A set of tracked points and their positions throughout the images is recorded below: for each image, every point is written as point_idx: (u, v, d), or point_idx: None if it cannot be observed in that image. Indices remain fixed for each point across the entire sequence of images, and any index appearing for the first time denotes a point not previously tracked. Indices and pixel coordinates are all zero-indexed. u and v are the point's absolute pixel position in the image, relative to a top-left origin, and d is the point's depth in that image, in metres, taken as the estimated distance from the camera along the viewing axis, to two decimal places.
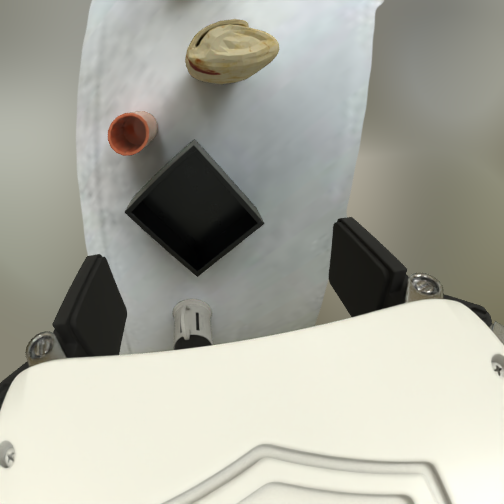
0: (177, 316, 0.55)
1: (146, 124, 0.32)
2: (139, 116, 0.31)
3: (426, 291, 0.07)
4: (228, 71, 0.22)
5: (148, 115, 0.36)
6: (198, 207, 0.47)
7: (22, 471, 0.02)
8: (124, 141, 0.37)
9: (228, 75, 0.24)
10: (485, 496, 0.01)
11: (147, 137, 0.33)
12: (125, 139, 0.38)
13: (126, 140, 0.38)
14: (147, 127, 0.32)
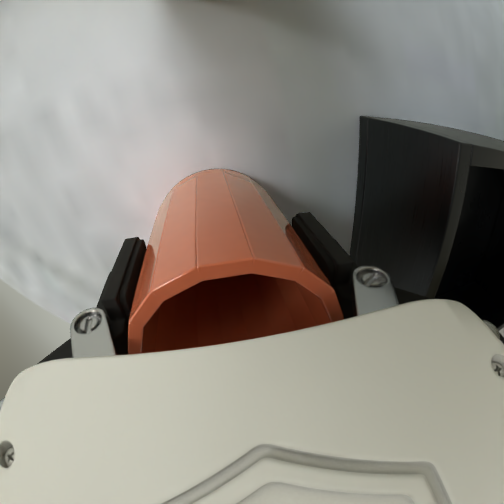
0: None
1: (268, 265, 0.06)
2: (195, 273, 0.06)
3: (374, 283, 0.07)
4: None
5: (203, 189, 0.10)
6: None
7: (22, 471, 0.02)
8: (223, 295, 0.13)
9: None
10: (485, 496, 0.01)
11: (327, 294, 0.07)
12: (217, 285, 0.14)
13: (222, 283, 0.14)
14: (287, 269, 0.06)
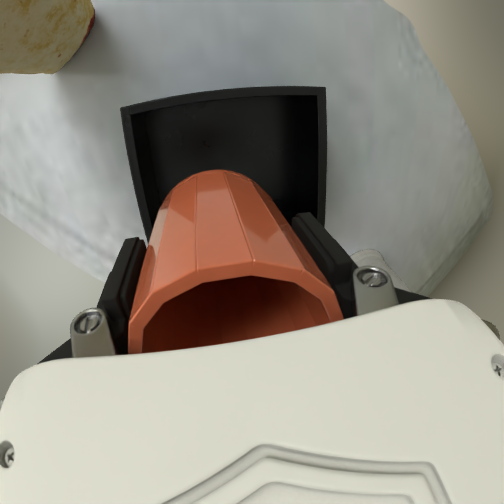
0: None
1: (268, 267, 0.06)
2: (194, 275, 0.06)
3: (374, 283, 0.07)
4: None
5: (203, 190, 0.10)
6: (235, 160, 0.27)
7: (22, 471, 0.02)
8: (223, 296, 0.13)
9: (2, 10, 0.04)
10: (485, 496, 0.01)
11: (327, 295, 0.07)
12: (217, 286, 0.14)
13: (222, 283, 0.14)
14: (287, 271, 0.06)
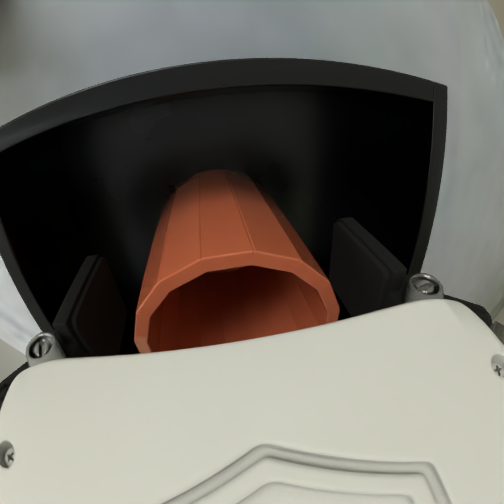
0: None
1: (267, 257, 0.06)
2: (199, 265, 0.06)
3: (426, 291, 0.07)
4: None
5: (206, 188, 0.10)
6: None
7: (22, 471, 0.02)
8: (224, 291, 0.14)
9: None
10: (485, 496, 0.01)
11: (323, 286, 0.07)
12: (219, 282, 0.15)
13: (224, 279, 0.15)
14: (285, 261, 0.07)
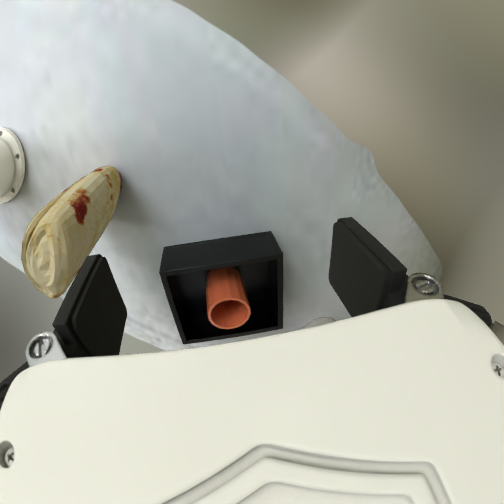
0: None
1: (233, 298, 0.37)
2: (222, 300, 0.37)
3: (426, 291, 0.07)
4: (74, 273, 0.20)
5: (221, 277, 0.41)
6: None
7: (22, 471, 0.02)
8: (226, 302, 0.44)
9: (83, 259, 0.22)
10: (485, 496, 0.01)
11: (245, 303, 0.38)
12: None
13: None
14: (236, 299, 0.37)
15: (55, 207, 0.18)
